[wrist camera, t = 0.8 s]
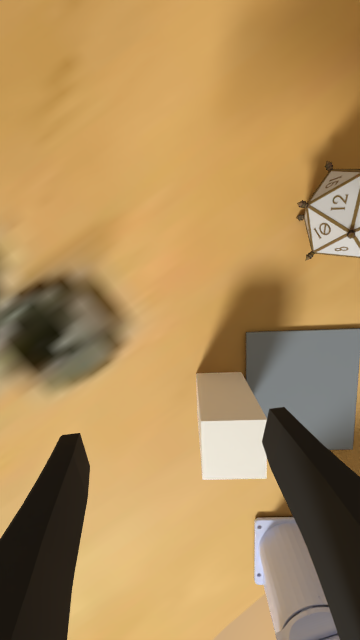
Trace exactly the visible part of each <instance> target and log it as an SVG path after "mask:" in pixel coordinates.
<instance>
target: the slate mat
mask: <svg viewBox="0 0 360 640" xmlns="http://www.w3.org/2000/svg"><path fill="white" fill-rule="evenodd" d="M359 359H360V328H350V329H322V330H293V331H264V332H246V381H247V383H248V385H249V387H250V389H251V391H252V392H253V394H254V396H255V398H256V400H257V402H258V403H259V405H260V407H261V409H262V411H263V413H264V414H265V416H266V418H267V417H268V412H269V409H272V408H279V407H285V408H286V409H287V410H288V411H289V412H290V413H291V414H292V415H293V416H294V417H295V418H296V419H297V420H298V421H299V422H300V423H301V424H302V425H303V426H304V427H305V428H306V429H307V430H308V431H309V432H310V433H312V434H313V435H314V436H315V437H316V438H317V439H318V440H319V441H320V442H321V443H322V444H323V445H324V446H325V447H326V448H327V449H329V450H346V449H353V440H354V426H355V413H356V399H357V386H358V372H359Z"/></svg>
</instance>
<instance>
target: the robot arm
mask: <svg viewBox="0 0 360 640" xmlns="http://www.w3.org/2000/svg"><path fill="white" fill-rule="evenodd" d="M262 444H263V447H264V450H265V453H266V456H267V459H268V462H269V465H270V467H271V470H272V472H273V474H274V477H275V479H276V481H277V483H278V485H279V487H280V490H281V492H282V494H283V496H284V498H285V500H286V502H287V504H288V507H289V509H290V511H291V513H292V515H293V517H265V518H256V519H255V540H254V580H255V583H256V584H258V585H264V589H265V593H266V597H267V601H268V605H269V609H270V612H271V617H272V621H273V625H274V630H275V633H276V638H277V640H360V477H359V476H358V475H357V474H356V473H354V472H353V471H352V470H351V469H350V468H349V467H347V466H346V465H345V464H344V463H343V462H342V461H341V460H339V459H338V458H337V457H336V456H335V455H334V454H333V453H332V452H331V451H330V450H329V449H327V448H326V447H325V446H324V445H323V444H322V443H321V442H320V441H319V440H318V439H317V438H316V437H315V436H314V435H313V434H312V433H310V432H309V431H308V430H307V429H306V428H305V427H304V426H303V425H302V424H301V423H300V422H299V421H298V420H297V419H296V418H295V417H294V416H293V415H292V414H291V413H290V412H289V411H288V410H287V409H286V408H285V407H279V408H272V409H269V412H268V417H267V421H266V426H265V430H264V434H263V439H262ZM89 473H90V465H89V462H88V458H87V455H86V452H85V448H84V445H83V442H82V438H81V435H80V433H76V434H68V435H62V436H61V437H60V438H59V440H58V442H57V444H56V446H55V448H54V450H53V452H52V454H51V456H50V458H49V460H48V461H47V463H46V465H45V467H44V469H43V470H42V472H41V474H40V476H39V478H38V479H37V481H36V483H35V484H34V486H33V488H32V489H31V491H30V493H29V495H28V496H27V498H26V500H25V501H24V503H23V505H22V506H21V508H20V509H19V511H18V512H17V514H16V516H15V517H14V519H13V520H12V522H11V523H10V525H9V526H8V528H7V529H6V531H5V533H4V534H3V536H2V537H1V539H0V640H67V633H68V623H69V613H70V603H71V593H72V586H73V579H74V572H75V566H76V561H77V555H78V550H79V544H80V538H81V533H82V527H83V521H84V516H85V510H86V504H87V498H88V487H89ZM259 525H260V526H259Z"/></svg>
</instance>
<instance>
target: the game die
mask: <svg viewBox="0 0 360 640" xmlns="http://www.w3.org/2000/svg"><path fill="white" fill-rule="evenodd" d="M325 167H326V168H327V169H326V170H328V171H329V172H328V174H327V175H326V177H325V178H324V179H323V181H322V182H321V184H320V185H319V187H318V188H317V190H316V191H315V192H314V194H313V195H312V197H311V198H310V200H309V201H308V202H307V203H306V201H303V200H302V201H301V202H299V203H297V204H298V205H299V207H301V208H304V207H306V208H305V214H304V215H299V216H298V217H297V219H299V221H300V220H303V219H304V220H305V225H306V229H307V233H308V237H309V242H310V246H311V250H312V251H311V252H310V253H309V254H308V255H307V256H306V260H308V259H311V258H312V257H313V255H314V254H325V255H336V256H346V257H357V258H360V169H333V165H332V163H331V162H328V161H327V163H326V166H325Z"/></svg>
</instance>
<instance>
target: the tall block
mask: <svg viewBox="0 0 360 640" xmlns="http://www.w3.org/2000/svg"><path fill="white" fill-rule="evenodd" d="M196 385H197V415H198V428H199V441H200V453H201V466H202V479H203V480H216V479H267V456H266V453H265V450H264V447H263V444H262V439H263V434H264V430H265V426H266V421H267V418H266V416H265V414H264V413H263V411H262V409H261V407H260V405H259V403H258V402H257V400H256V398H255V396H254V394H253V392H252V391H251V389H250V387H249V385H248V383H247V381H246V380H245V378H244V376H243V374H242V372H221V373H196Z"/></svg>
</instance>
